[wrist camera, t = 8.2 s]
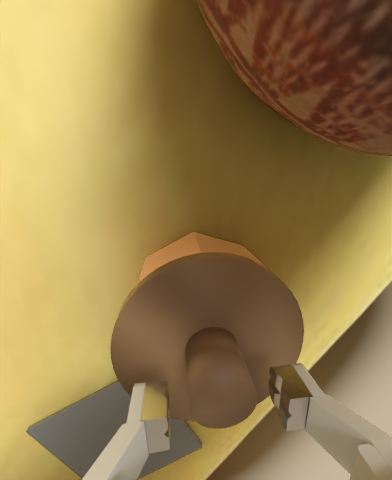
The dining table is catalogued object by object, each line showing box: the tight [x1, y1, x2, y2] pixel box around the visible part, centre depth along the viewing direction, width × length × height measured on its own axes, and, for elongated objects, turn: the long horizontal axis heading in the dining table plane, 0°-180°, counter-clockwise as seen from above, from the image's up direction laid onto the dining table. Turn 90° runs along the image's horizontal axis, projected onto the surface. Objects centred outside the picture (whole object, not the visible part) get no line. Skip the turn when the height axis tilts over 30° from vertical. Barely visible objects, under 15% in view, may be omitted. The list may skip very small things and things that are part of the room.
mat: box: [26, 381, 202, 479], centre depth 21 cm, size 12×12×1 cm
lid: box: [111, 252, 304, 428], centre depth 11 cm, size 11×11×4 cm
